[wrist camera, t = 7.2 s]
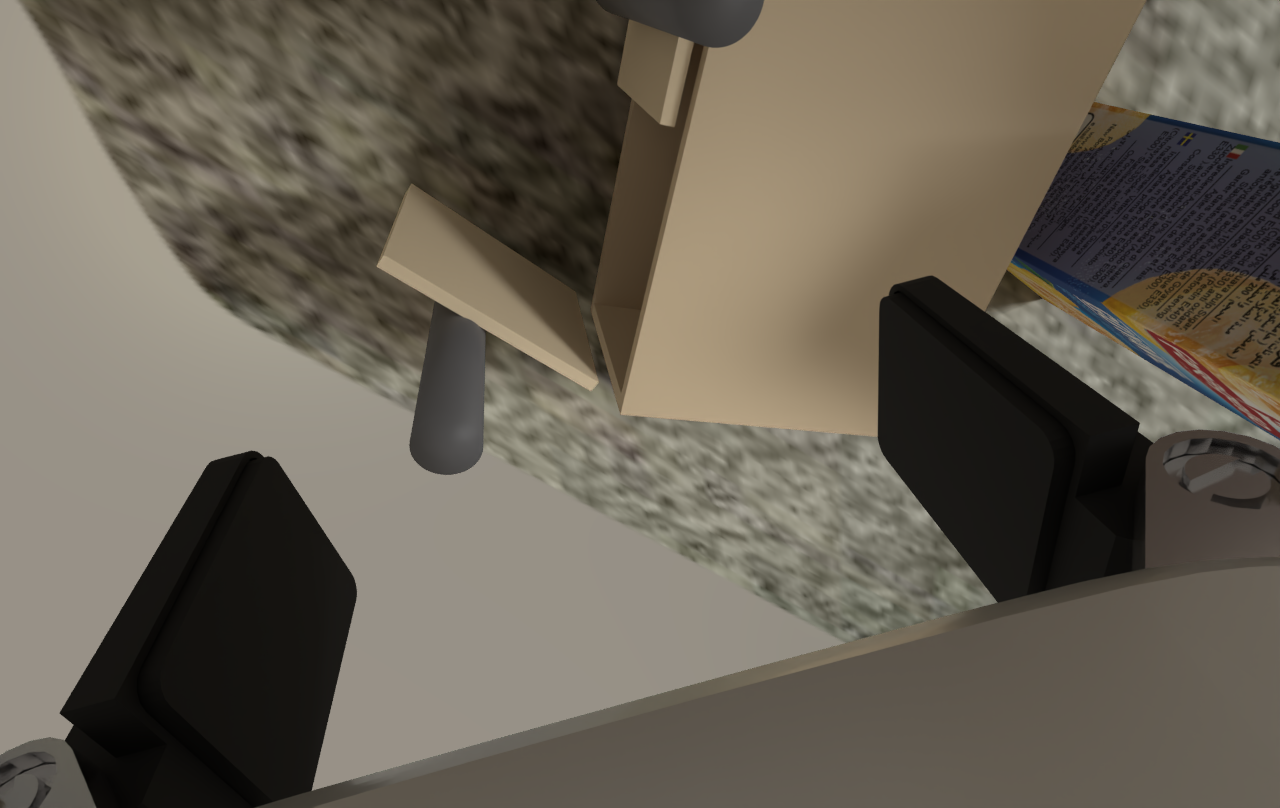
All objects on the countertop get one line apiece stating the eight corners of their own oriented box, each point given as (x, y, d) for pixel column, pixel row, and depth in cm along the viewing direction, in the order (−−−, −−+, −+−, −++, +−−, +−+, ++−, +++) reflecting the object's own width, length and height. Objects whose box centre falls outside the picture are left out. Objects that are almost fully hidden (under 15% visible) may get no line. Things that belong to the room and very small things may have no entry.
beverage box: (1044, 299, 40) (1502, 573, 22) (926, 206, 35) (1386, 457, 17) (1137, 200, 37) (1744, 416, 19) (1024, 86, 33) (1686, 229, 15)
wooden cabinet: (1003, -102, 28) (1215, -132, 20) (827, 339, 39) (918, 440, 30) (692, -213, 24) (794, -306, 16) (590, 309, 35) (620, 414, 27)
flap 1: (411, 183, 30) (348, 345, 17) (575, 291, 34) (625, 488, 21) (383, 227, 30) (303, 415, 18) (547, 328, 34) (579, 538, 22)
